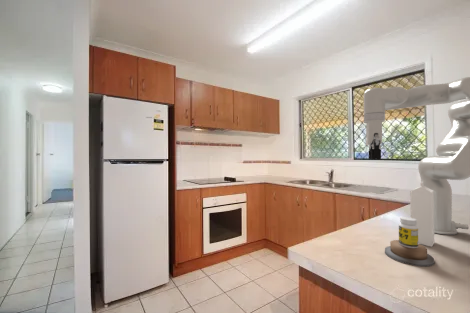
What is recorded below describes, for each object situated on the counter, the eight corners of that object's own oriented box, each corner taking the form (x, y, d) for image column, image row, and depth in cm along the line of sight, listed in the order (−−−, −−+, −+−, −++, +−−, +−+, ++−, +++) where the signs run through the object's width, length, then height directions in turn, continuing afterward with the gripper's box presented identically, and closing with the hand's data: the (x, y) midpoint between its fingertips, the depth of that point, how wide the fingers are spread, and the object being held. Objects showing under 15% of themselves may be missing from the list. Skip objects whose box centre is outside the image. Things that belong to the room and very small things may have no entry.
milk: (434, 242, 80) (434, 182, 80) (432, 247, 75) (432, 183, 76) (413, 238, 84) (413, 180, 84) (410, 242, 80) (410, 181, 80)
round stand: (426, 252, 71) (426, 242, 71) (441, 269, 60) (441, 257, 60) (381, 246, 76) (381, 236, 76) (388, 261, 65) (388, 249, 65)
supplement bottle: (395, 242, 70) (394, 216, 70) (408, 242, 70) (408, 216, 71) (408, 249, 65) (407, 221, 65) (422, 248, 66) (422, 220, 66)
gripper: (362, 122, 101) (362, 159, 101) (366, 115, 85) (366, 159, 85) (381, 121, 98) (381, 159, 98) (389, 114, 82) (389, 159, 82)
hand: (374, 159), depth 91 cm, fingers open, 9 cm apart
